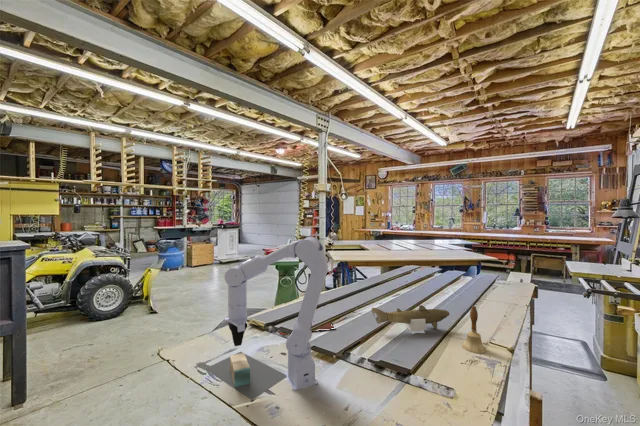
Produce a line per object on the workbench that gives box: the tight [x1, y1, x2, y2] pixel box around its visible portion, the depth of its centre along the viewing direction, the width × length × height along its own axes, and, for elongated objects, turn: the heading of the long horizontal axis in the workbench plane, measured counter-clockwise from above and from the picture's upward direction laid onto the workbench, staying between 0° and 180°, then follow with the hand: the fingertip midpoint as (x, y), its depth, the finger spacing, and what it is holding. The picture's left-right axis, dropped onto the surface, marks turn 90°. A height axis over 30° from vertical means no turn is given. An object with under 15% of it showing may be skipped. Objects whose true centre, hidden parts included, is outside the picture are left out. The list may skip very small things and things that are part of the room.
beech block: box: [229, 352, 250, 387], centre depth 90 cm, size 4×4×10 cm
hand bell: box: [461, 305, 487, 354], centre depth 109 cm, size 8×8×16 cm
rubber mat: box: [204, 351, 287, 403], centre depth 92 cm, size 24×14×1 cm, turn 52°
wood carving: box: [371, 304, 450, 331], centre depth 123 cm, size 9×35×11 cm, turn 98°
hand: (237, 344), depth 93 cm, fingers closed
